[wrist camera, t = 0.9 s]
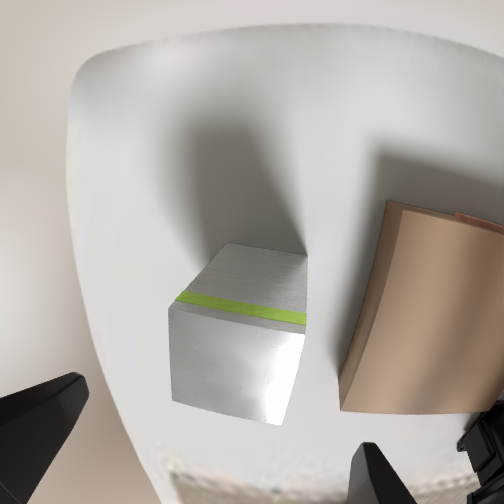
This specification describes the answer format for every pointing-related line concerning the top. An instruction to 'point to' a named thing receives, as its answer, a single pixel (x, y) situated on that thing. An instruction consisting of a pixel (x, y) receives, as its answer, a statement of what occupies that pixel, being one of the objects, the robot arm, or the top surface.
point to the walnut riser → (429, 318)
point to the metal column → (240, 333)
